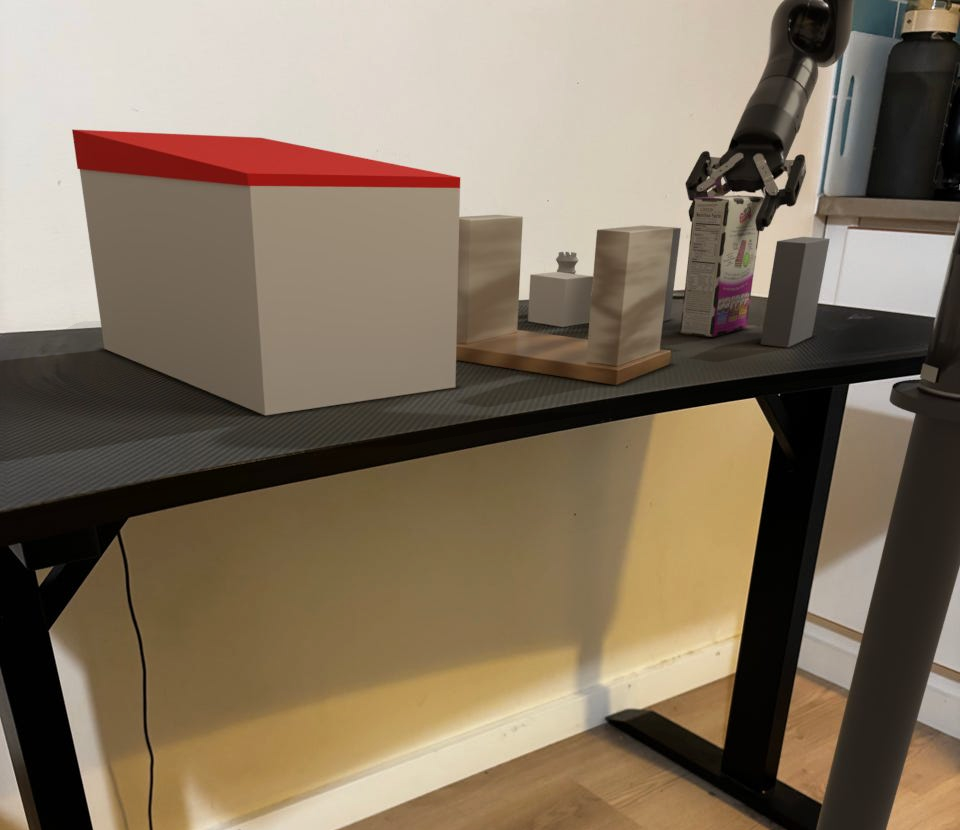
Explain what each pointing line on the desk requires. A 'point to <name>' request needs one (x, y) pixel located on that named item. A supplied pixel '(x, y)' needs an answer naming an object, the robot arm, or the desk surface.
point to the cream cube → (560, 299)
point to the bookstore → (272, 267)
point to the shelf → (613, 316)
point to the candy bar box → (720, 265)
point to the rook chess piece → (567, 262)
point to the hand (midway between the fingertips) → (726, 224)
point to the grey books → (780, 288)
